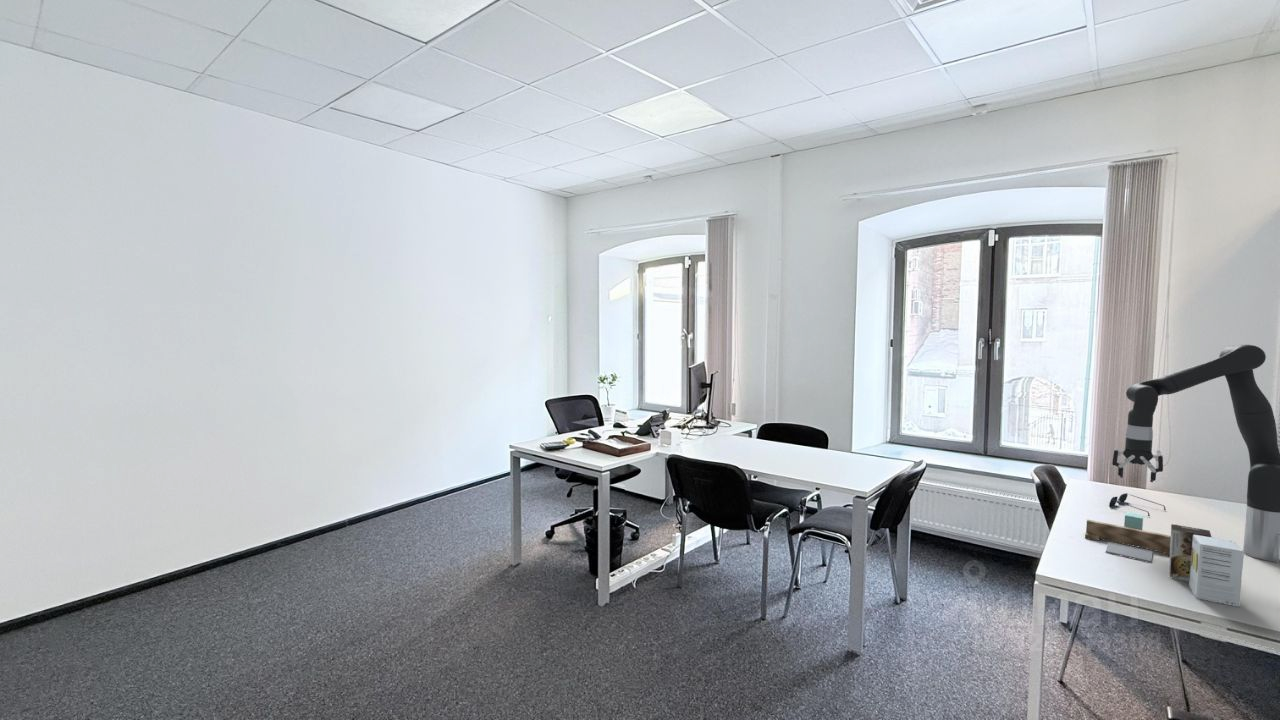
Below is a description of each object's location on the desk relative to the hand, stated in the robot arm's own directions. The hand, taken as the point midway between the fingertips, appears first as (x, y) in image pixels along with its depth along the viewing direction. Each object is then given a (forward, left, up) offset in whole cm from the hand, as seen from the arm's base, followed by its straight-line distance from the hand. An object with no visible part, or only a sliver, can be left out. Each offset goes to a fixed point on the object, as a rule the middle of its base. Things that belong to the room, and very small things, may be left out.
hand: (1136, 479), depth 209 cm
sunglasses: (+17, -43, -24) cm, 52 cm away
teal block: (0, 0, -23) cm, 23 cm away
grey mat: (-7, +18, -23) cm, 30 cm away
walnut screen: (-3, +9, -23) cm, 25 cm away
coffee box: (-25, +26, -23) cm, 43 cm away
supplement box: (-34, +35, -23) cm, 54 cm away
